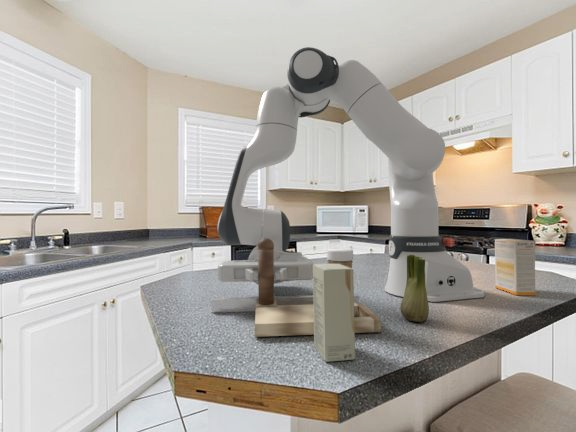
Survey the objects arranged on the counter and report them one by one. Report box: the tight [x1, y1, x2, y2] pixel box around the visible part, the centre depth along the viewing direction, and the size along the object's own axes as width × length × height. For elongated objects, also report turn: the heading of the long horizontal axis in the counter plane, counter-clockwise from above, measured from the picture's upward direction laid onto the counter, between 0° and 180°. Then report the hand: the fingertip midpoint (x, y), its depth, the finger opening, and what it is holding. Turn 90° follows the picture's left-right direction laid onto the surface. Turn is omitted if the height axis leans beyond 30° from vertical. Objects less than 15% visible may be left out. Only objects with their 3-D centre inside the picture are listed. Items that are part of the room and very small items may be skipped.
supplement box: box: [494, 238, 536, 296], centre depth 79 cm, size 8×5×13 cm, turn 179°
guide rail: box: [211, 293, 359, 313], centre depth 66 cm, size 30×2×2 cm, turn 95°
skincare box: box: [312, 263, 356, 363], centre depth 45 cm, size 6×4×12 cm
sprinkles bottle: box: [326, 247, 354, 269], centre depth 56 cm, size 5×5×14 cm
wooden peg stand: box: [254, 238, 382, 338], centre depth 58 cm, size 20×14×15 cm
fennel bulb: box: [399, 255, 430, 323], centre depth 58 cm, size 6×5×12 cm
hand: (266, 277), depth 61 cm, fingers open, 3 cm apart
